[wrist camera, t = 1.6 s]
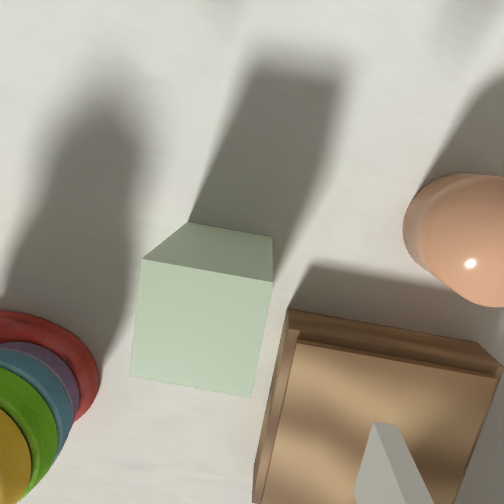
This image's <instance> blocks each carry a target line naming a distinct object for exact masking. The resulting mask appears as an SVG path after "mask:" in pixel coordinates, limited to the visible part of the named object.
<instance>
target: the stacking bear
mask: <svg viewBox="0 0 504 504" xmlns="http://www.w3.org/2000/svg"><path fill="white" fill-rule="evenodd" d="M97 390H98V372H97V368H96V365H95V362H94V360H93V358H92V356H91V354H90V353H89V351H88V350H87V348H86V347H85V346H84V344H83V343H82V342H81V341H80V340H79V339H78V338H76V337H75V336H74V335H73V334H71V333H70V332H68V331H66V330H65V329H63V328H61V327H59V326H57V325H55V324H53V323H51V322H49V321H46V320H44V319H41V318H38V317H35V316H31V315H28V314H23V313H17V312H8V311H0V504H16V503H17V502H19V501H20V500H21V499H22V498H24V497H25V496H26V495H27V494H28V493H29V492H30V491H31V490H32V489H33V488H34V487H35V486H36V485H37V484H38V482H39V481H40V480H41V479H42V478H43V477H44V476H45V474H46V473H47V472H48V470H49V469H50V467H51V466H52V465H53V463H54V462H55V460H56V459H57V457H58V455H59V453H60V451H61V450H62V448H63V446H64V443H65V441H66V439H67V437H68V434H69V431H70V429H71V427H72V425H73V423H74V422H75V421H77V420H78V419H79V418H80V417H81V416H82V415H83V414H85V413H86V411H87V410H88V409H89V408H90V407H91V405H92V403H93V402H94V399H95V397H96V394H97Z"/></svg>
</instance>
